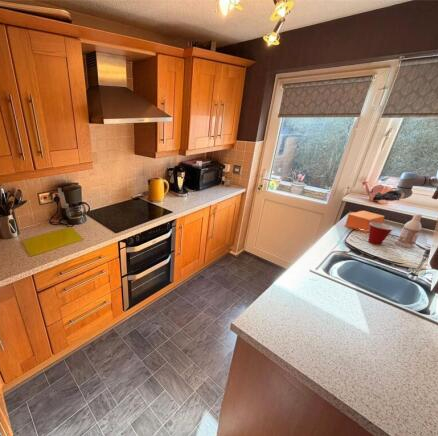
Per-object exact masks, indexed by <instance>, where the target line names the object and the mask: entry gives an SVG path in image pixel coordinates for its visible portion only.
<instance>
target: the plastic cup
mask: <svg viewBox="0 0 438 436" xmlns="http://www.w3.org/2000/svg"><path fill="white" fill-rule="evenodd" d="M392 231H394V227H393V226H390V225H387V224H384V223H382V224H380V223H370V231H369V232H368V243H369V244H372V245H375V246H381V245H383V243H384V241H385V240H386V238H388V236H389V234H391V232H392Z"/></svg>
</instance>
